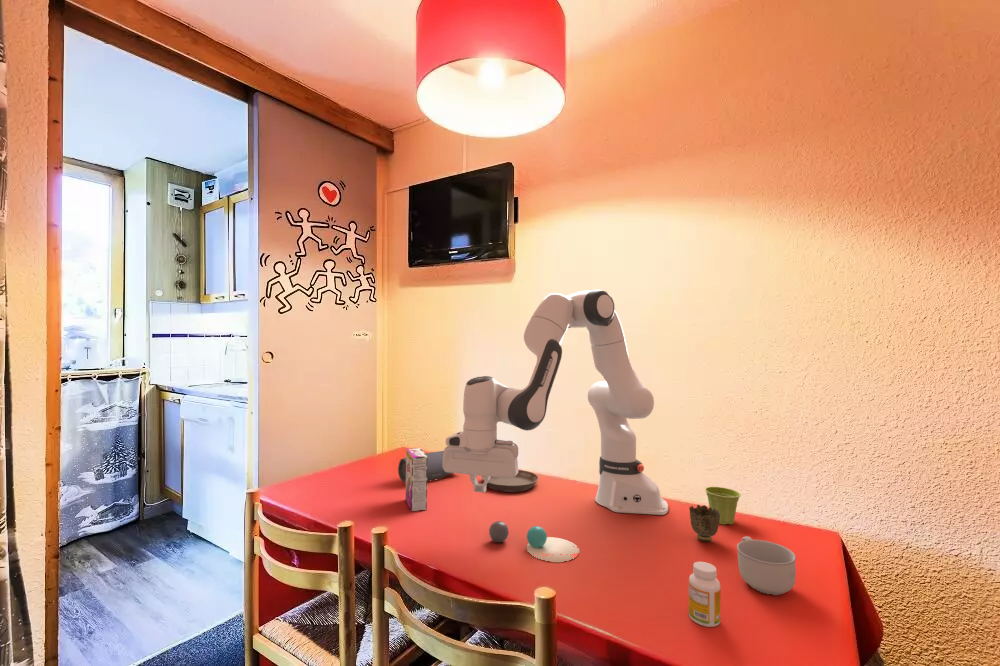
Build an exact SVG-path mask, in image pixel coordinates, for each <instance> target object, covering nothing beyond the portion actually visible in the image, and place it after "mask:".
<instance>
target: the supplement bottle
mask: <svg viewBox="0 0 1000 666" xmlns="http://www.w3.org/2000/svg"><path fill="white" fill-rule="evenodd" d="M692 572H693V573H691V574H690V575H689V578H688V616H689V618H690V619H691V620H692V621H693V622H694V623H696V624H698V625H701V626H702V627H706V628H715V627H717V626H719V625H720V624H721V591H722V590H721V588H722V587H721V583H720V581H719V579H718V578H717V567H716V566H715V565H714V564H711V563H710V562H705V561H696V562H694V563H693V565H692Z"/></svg>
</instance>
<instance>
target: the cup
mask: <svg viewBox="0 0 1000 666" xmlns="http://www.w3.org/2000/svg"><path fill="white" fill-rule="evenodd" d="M688 507H689V508H688V509H689V518H690V525H691V528H692V530H693V531H694V532H695V534H696V538H697V540H699V541H700V542H702V543H710V542H712V541H713V538H712V537H713V536H715V535H716V534H717V533H718V529H719V526H720V525H719V519H720V512H718V510H717V511H716V509H713V511H712V508H711V507H710V508H709V507H708V506H706V505H705V504H704V505H699V504H697V505H696V507H694V505H691V506H688Z"/></svg>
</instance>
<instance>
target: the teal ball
mask: <svg viewBox="0 0 1000 666" xmlns="http://www.w3.org/2000/svg"><path fill="white" fill-rule="evenodd" d="M547 537H548V536H547V532H546V530H545V529H544V528H543V527H542V526H539V525H533V526H532V527H530V528H529V529H528V531H527V533H526V540H527V542H528V543H529V544H530V545H531V546H532V547H535V548H540V547H542V546H543V545H544V544H545V543H546V540H547ZM528 543H527V544H528Z"/></svg>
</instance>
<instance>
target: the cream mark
mask: <svg viewBox="0 0 1000 666" xmlns="http://www.w3.org/2000/svg"><path fill="white" fill-rule="evenodd" d="M573 546H574V547H573ZM577 547H578V546H577V545H576V544H575V543H574V542H572V541H569V540H567V539H564V538H560V537H552V536H547V540H546V543H545V544H544V545H543V546H542V547H540V548H535V547H532V546H531V545H530V544H529V543H527V545H526V551H527V553H528V552H529V553H530V554H531V555H532V556H531V555H530V554H529V553H528V554H529V555H530V556H531V557H533V556H534V557H533V558H535V557H536V558H535V559H537V558H538V559H537V560H539V559H541V560H540V561H542V560H545V561H544V562H547V561H551V562H550V563H565V562H564V561H567V562H570V561H569V560H571V559H572V558H573V560H575V559H574V556H573V555H572V554H574V553H575V554H576V553H579V554H580V549H579V547H578V548H577ZM540 553H541V554H540ZM543 553H544V554H543ZM548 553H549V554H548ZM535 554H538V555H535ZM542 554H543V555H545V554H548V555H547V556H546V555H545V556H546V557H545V556H543V555H542ZM550 554H551V555H550ZM553 554H554V555H553ZM560 554H562V555H560ZM567 554H568V555H567ZM570 554H571V555H572V556H573V557H572V556H571V555H570ZM552 555H553V556H552ZM543 557H544V558H543ZM571 557H572V558H571ZM571 561H572V560H571Z"/></svg>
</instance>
